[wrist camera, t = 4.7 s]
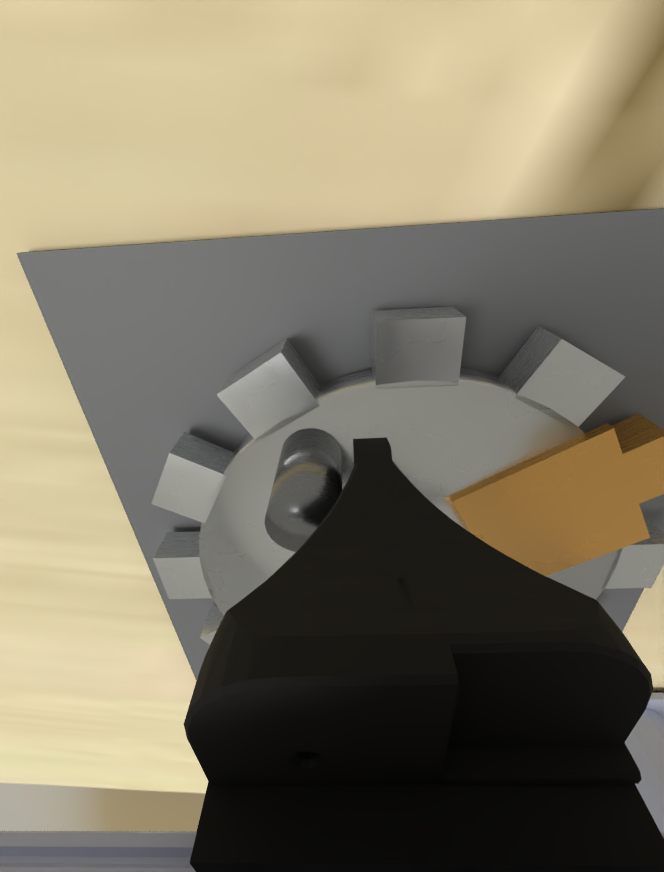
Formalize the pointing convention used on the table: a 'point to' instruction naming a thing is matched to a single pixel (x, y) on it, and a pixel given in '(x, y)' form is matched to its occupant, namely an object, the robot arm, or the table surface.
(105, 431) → the plate
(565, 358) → the sprocket
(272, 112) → the table surface
